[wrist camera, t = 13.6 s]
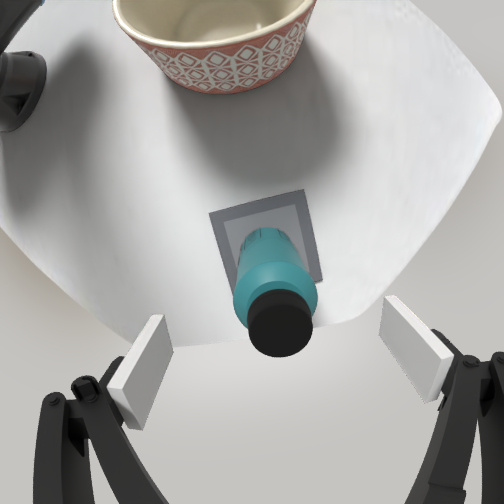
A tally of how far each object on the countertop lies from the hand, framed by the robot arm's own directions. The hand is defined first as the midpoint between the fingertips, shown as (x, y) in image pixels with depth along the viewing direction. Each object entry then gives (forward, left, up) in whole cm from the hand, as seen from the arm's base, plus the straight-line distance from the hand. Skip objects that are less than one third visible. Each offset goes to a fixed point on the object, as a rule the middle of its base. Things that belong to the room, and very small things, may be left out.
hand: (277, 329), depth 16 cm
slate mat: (0, 0, -21) cm, 21 cm away
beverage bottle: (0, 0, -20) cm, 20 cm away
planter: (-3, +29, -21) cm, 36 cm away
